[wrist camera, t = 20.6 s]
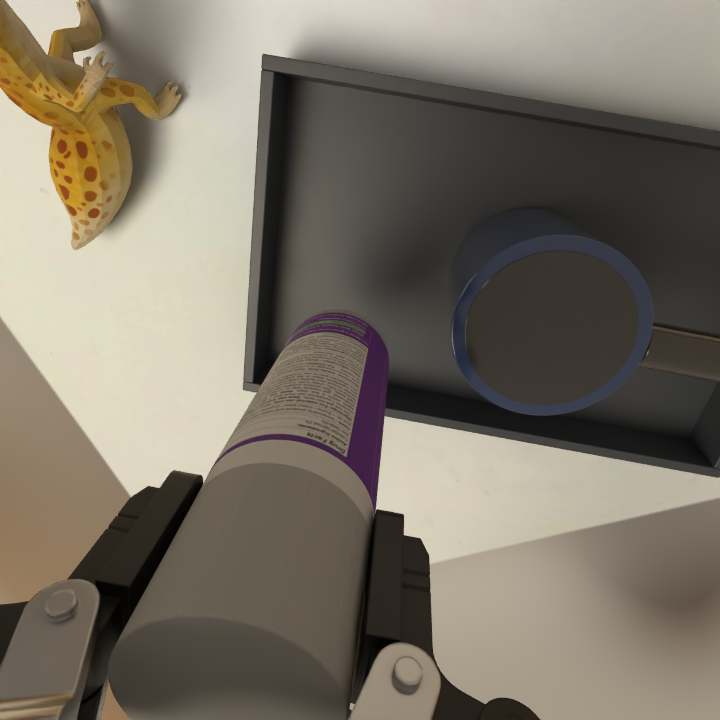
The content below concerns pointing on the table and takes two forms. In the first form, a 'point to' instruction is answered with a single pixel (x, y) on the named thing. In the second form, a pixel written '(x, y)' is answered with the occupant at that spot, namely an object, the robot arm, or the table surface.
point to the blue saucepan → (558, 317)
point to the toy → (77, 115)
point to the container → (271, 548)
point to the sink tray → (458, 218)
